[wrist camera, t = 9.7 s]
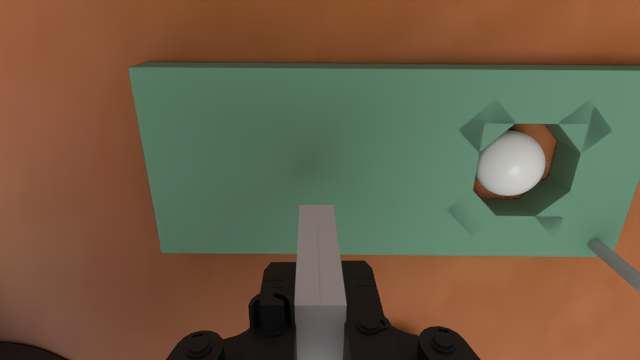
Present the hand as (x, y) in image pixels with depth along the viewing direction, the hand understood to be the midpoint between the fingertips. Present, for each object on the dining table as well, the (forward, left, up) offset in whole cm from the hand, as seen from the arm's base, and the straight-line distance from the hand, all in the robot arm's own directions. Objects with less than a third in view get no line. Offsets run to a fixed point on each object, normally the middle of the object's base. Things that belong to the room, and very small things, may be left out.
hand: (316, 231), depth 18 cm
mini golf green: (+5, 0, -9) cm, 10 cm away
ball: (+12, +1, -7) cm, 14 cm away
